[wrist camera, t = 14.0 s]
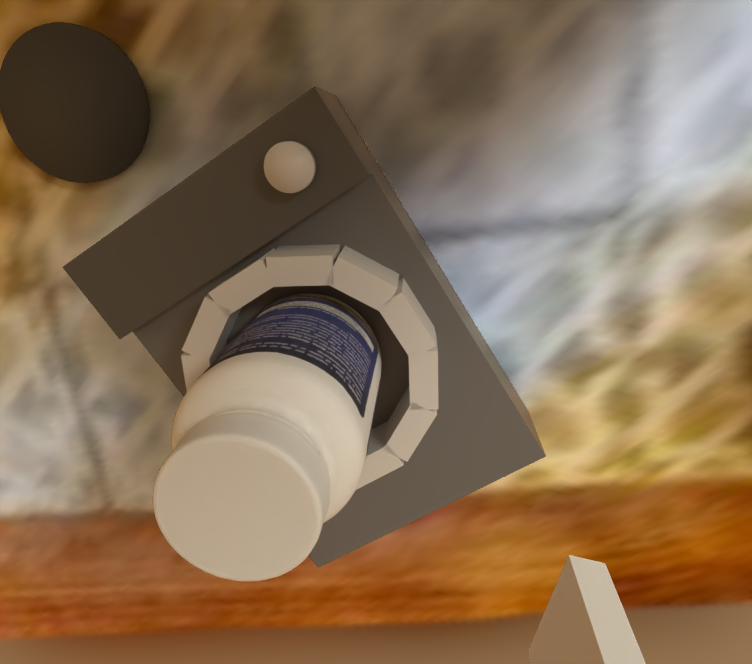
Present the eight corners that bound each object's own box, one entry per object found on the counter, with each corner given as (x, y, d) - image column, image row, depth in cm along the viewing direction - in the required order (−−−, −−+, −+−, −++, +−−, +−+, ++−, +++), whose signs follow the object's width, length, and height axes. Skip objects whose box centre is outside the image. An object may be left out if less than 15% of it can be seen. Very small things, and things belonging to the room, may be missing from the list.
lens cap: (-16, 57, 24) (-30, 55, 23) (113, 2, 23) (102, -2, 22) (54, 199, 26) (43, 201, 25) (176, 154, 25) (169, 155, 24)
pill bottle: (230, 297, 22) (91, 414, 13) (372, 282, 22) (333, 394, 12) (258, 427, 24) (152, 612, 15) (390, 416, 23) (368, 603, 14)
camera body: (127, 242, 26) (46, 273, 20) (335, 95, 23) (309, 84, 18) (330, 511, 30) (310, 602, 24) (527, 410, 27) (557, 484, 21)
